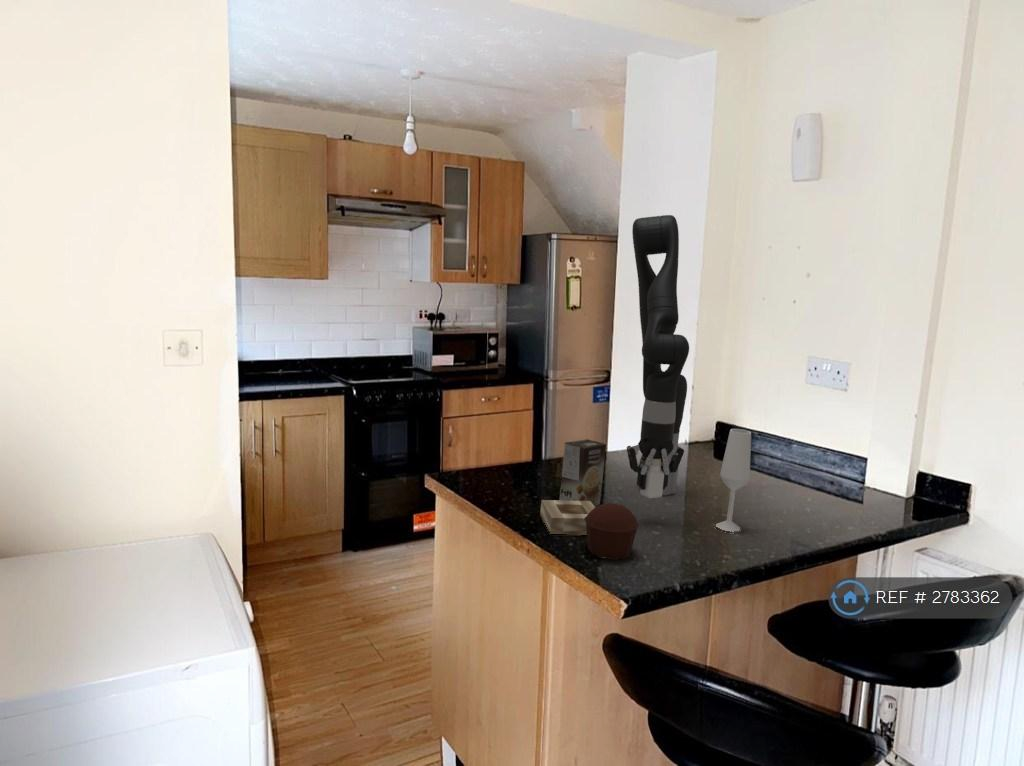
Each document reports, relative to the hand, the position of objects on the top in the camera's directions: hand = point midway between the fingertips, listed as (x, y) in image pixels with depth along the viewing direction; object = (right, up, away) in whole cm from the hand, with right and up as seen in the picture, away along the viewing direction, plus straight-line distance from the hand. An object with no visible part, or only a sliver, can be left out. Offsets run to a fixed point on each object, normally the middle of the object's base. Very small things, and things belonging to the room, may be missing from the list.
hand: (651, 488), depth 166 cm
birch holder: (-20, -8, -5) cm, 22 cm away
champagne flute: (+19, -10, +2) cm, 21 cm away
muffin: (-13, -11, -18) cm, 25 cm away
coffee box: (-16, -6, +11) cm, 20 cm away
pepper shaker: (0, -2, 0) cm, 2 cm away
